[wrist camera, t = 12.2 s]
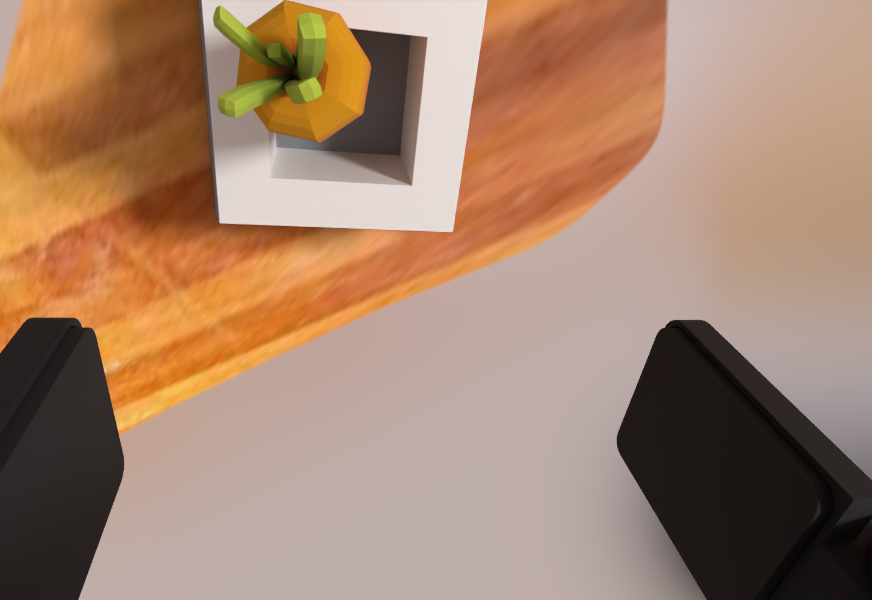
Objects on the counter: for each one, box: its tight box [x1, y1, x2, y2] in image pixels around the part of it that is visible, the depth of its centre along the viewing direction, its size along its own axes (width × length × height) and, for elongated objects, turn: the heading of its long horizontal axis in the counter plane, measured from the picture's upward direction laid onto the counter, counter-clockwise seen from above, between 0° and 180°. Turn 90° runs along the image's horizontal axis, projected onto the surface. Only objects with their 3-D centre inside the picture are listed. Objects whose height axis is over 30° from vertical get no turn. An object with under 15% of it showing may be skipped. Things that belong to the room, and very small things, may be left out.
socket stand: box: [198, 0, 487, 232], centre depth 29 cm, size 16×14×6 cm
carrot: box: [213, 0, 371, 143], centre depth 23 cm, size 5×5×15 cm
